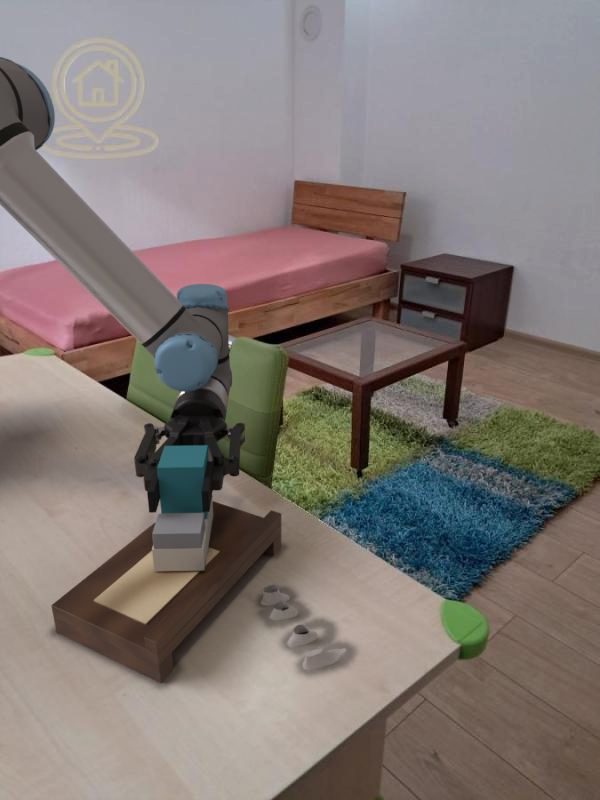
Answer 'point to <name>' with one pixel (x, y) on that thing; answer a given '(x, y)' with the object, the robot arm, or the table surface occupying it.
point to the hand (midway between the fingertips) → (178, 501)
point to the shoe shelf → (161, 593)
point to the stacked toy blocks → (182, 511)
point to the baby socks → (298, 630)
